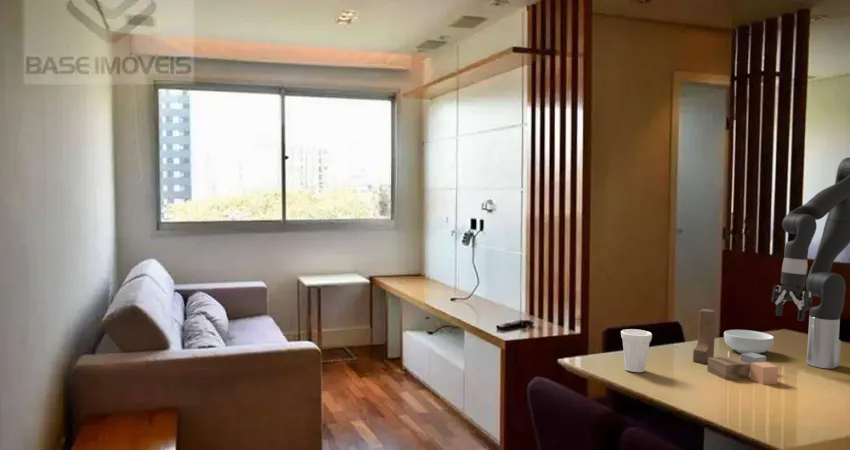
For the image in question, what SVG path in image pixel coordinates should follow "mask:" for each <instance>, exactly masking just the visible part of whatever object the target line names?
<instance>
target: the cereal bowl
mask: <svg viewBox="0 0 850 450" xmlns="http://www.w3.org/2000/svg"><path fill="white" fill-rule="evenodd" d="M723 339H724V342H725V344H726V345H727V346H728V347H729V348H730V349H733V350H735V352H737V353H739V354H744V353H750V352H752V353H756V354H759V355H761V353H765V352H767V351H769V350H770V349H772V348H773V346H774V341H775V337H774V336H773V335H771V334H769V333H766V332H761V331H756V330H747V329H729V330H725V331H724V332H723Z"/></svg>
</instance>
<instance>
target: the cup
mask: <svg viewBox="0 0 850 450" xmlns="http://www.w3.org/2000/svg"><path fill="white" fill-rule="evenodd" d="M620 335H621V336H620V337H621V339H622V347H623V348H622V349H623V358H624V369H625V370H626V371H628V372H633V373H644V372H645V369H646V363H647V358H648V352H649V348H650V347H649V346H650V344H651V341H652V338H653V334H652V332H650V331H648V330H647V331H646V330H644V329H643V330H642V329H636V328H635V329H634V328H630V329H629V328H628V329H627V328H626V329H622V330H621V331H620Z"/></svg>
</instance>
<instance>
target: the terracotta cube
mask: <svg viewBox="0 0 850 450" xmlns="http://www.w3.org/2000/svg"><path fill="white" fill-rule="evenodd" d="M778 372H779V366H777V365H774V364H772V363H768V362H767V361H766V362H756V363H751V372H749V379H750V380H751V381H754V382H756V383H759V384H761V385H772V384H778V376H779V375H778Z"/></svg>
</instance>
